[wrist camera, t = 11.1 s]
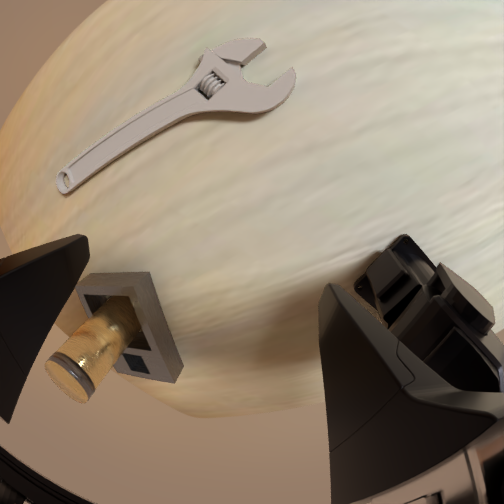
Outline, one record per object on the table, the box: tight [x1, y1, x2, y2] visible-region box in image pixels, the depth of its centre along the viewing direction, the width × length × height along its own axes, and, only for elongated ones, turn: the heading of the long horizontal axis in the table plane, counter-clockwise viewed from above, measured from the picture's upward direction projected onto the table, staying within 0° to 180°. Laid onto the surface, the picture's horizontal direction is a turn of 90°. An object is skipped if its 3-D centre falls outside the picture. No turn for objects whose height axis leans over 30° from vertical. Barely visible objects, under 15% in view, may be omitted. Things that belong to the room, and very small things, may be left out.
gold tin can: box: [45, 295, 142, 403], centre depth 22 cm, size 5×5×12 cm
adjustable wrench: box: [56, 38, 296, 194], centre depth 19 cm, size 25×6×2 cm, turn 106°
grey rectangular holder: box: [75, 272, 184, 384], centre depth 27 cm, size 13×9×3 cm
